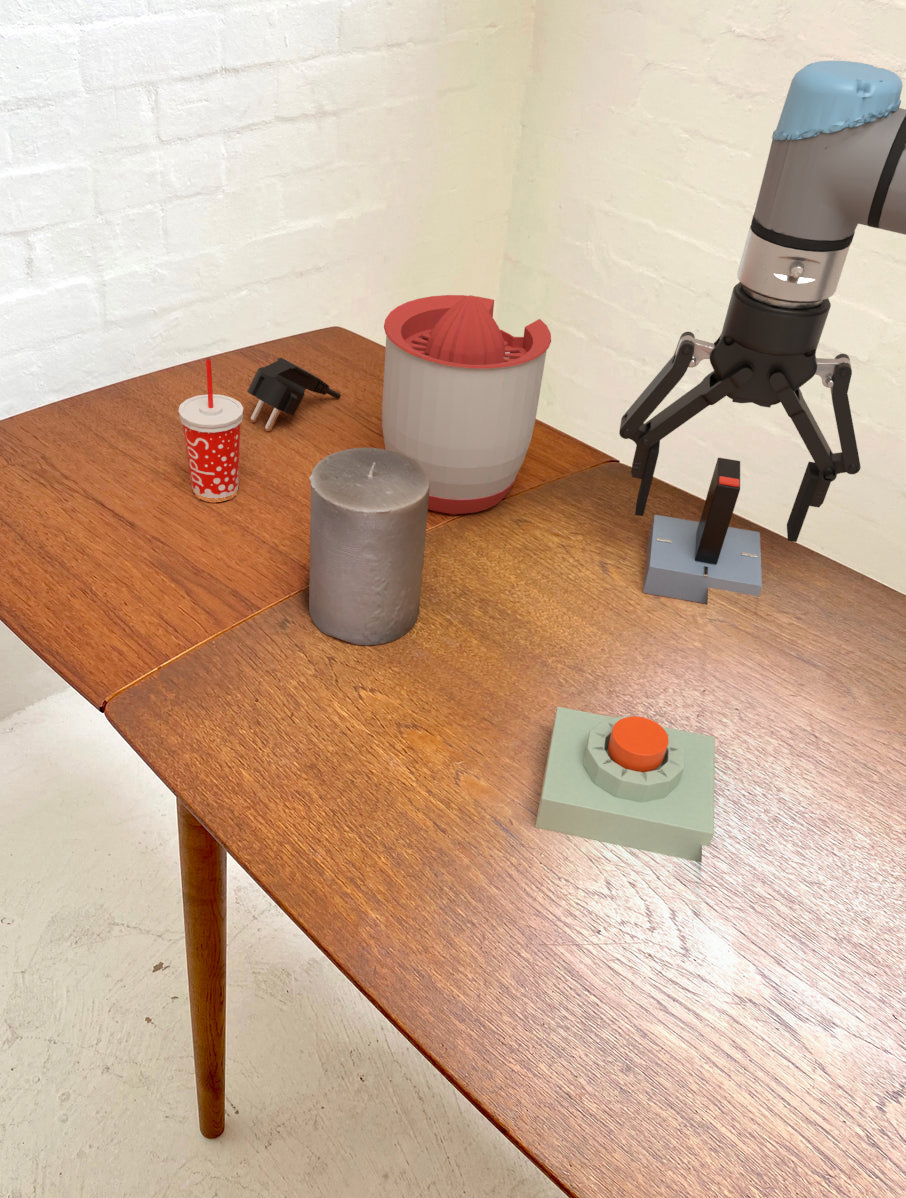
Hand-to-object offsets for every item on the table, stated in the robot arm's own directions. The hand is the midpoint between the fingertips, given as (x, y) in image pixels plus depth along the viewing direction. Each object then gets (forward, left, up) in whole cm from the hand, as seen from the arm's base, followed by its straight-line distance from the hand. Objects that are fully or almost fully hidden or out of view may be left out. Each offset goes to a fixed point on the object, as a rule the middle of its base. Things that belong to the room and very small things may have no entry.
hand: (714, 521), depth 101 cm
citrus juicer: (+25, -9, -6) cm, 27 cm away
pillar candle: (+29, +15, -6) cm, 33 cm away
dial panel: (0, 0, -6) cm, 6 cm away
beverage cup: (+48, 0, -6) cm, 48 cm away
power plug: (+45, -18, -6) cm, 49 cm away
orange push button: (+5, +31, -1) cm, 31 cm away
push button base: (+5, +31, -6) cm, 32 cm away
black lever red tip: (0, 0, -3) cm, 3 cm away
